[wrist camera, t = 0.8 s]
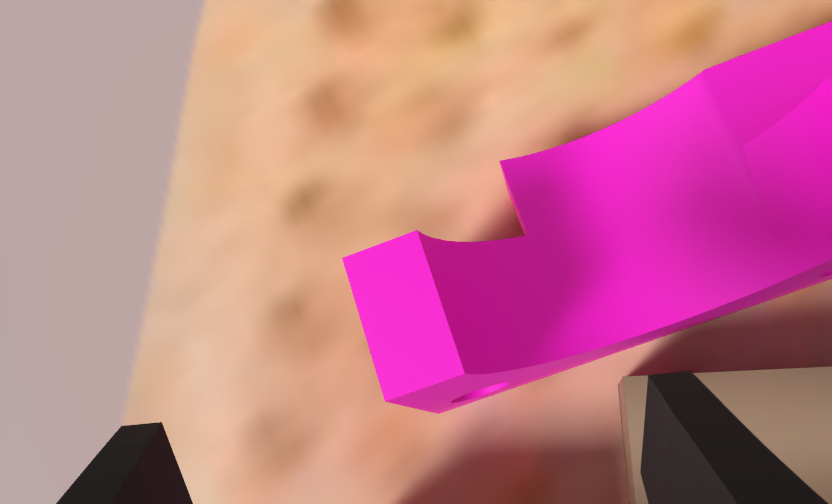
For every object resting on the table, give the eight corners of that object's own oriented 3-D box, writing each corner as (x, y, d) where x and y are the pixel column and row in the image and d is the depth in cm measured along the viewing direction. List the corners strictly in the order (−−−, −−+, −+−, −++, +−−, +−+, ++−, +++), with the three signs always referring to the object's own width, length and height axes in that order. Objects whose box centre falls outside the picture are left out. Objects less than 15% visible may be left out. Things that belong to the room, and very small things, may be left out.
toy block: (803, 87, 25) (889, -52, 18) (894, 258, 24) (1029, 176, 16) (385, 243, 27) (316, 171, 20) (439, 413, 25) (385, 401, 18)
